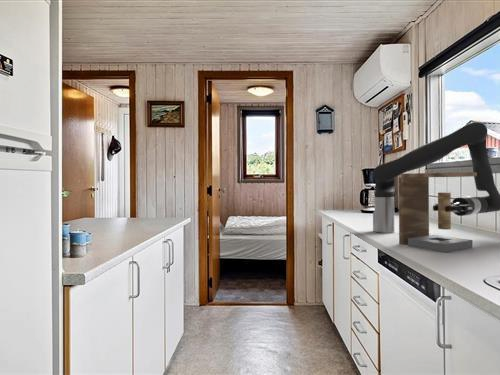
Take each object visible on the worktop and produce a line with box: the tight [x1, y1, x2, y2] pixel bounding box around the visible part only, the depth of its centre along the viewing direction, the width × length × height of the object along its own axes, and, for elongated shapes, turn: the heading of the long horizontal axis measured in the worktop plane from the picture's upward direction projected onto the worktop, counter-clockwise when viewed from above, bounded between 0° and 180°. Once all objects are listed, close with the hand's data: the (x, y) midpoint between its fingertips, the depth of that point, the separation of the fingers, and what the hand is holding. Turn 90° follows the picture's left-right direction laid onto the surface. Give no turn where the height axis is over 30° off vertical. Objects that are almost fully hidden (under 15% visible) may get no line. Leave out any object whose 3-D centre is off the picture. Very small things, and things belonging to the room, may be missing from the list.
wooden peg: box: [437, 191, 452, 230], centre depth 147 cm, size 4×4×14 cm
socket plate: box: [407, 234, 474, 253], centre depth 146 cm, size 16×16×3 cm
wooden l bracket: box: [398, 171, 477, 245], centre depth 148 cm, size 22×16×28 cm
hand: (440, 208), depth 145 cm, fingers closed on wooden peg, 4 cm apart
